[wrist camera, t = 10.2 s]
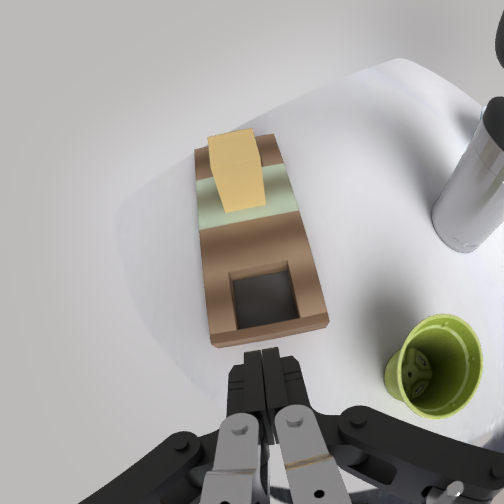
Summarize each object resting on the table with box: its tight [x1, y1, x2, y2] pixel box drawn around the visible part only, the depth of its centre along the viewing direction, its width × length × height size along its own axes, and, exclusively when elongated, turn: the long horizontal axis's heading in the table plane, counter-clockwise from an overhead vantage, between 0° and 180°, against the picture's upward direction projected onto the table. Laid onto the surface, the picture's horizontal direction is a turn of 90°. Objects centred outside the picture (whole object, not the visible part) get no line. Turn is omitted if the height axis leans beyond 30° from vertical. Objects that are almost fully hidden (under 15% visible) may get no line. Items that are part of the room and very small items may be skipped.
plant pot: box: [384, 314, 483, 420], centre depth 23 cm, size 9×9×9 cm
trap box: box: [195, 134, 329, 348], centre depth 36 cm, size 28×12×3 cm, turn 9°
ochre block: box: [208, 128, 266, 213], centre depth 32 cm, size 5×5×8 cm
